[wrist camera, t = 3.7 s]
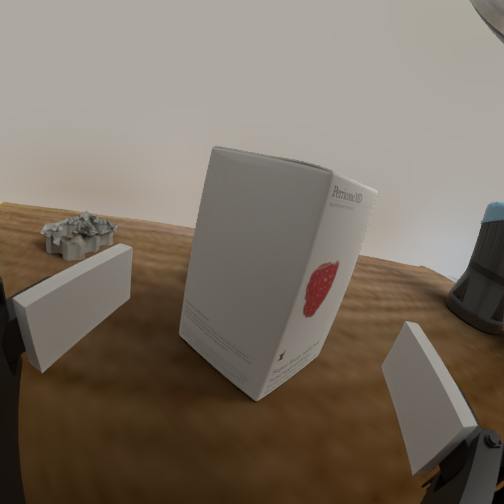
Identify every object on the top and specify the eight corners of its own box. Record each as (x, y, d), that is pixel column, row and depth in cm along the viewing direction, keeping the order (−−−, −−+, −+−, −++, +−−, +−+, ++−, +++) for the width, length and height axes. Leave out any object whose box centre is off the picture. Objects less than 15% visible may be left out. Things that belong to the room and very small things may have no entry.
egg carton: (72, 267, 27) (71, 233, 26) (37, 250, 28) (36, 220, 26) (121, 244, 37) (123, 216, 36) (86, 232, 38) (87, 207, 36)
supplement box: (256, 406, 16) (333, 167, 11) (176, 335, 21) (207, 143, 17) (321, 356, 23) (382, 189, 18) (249, 310, 28) (286, 163, 23)
